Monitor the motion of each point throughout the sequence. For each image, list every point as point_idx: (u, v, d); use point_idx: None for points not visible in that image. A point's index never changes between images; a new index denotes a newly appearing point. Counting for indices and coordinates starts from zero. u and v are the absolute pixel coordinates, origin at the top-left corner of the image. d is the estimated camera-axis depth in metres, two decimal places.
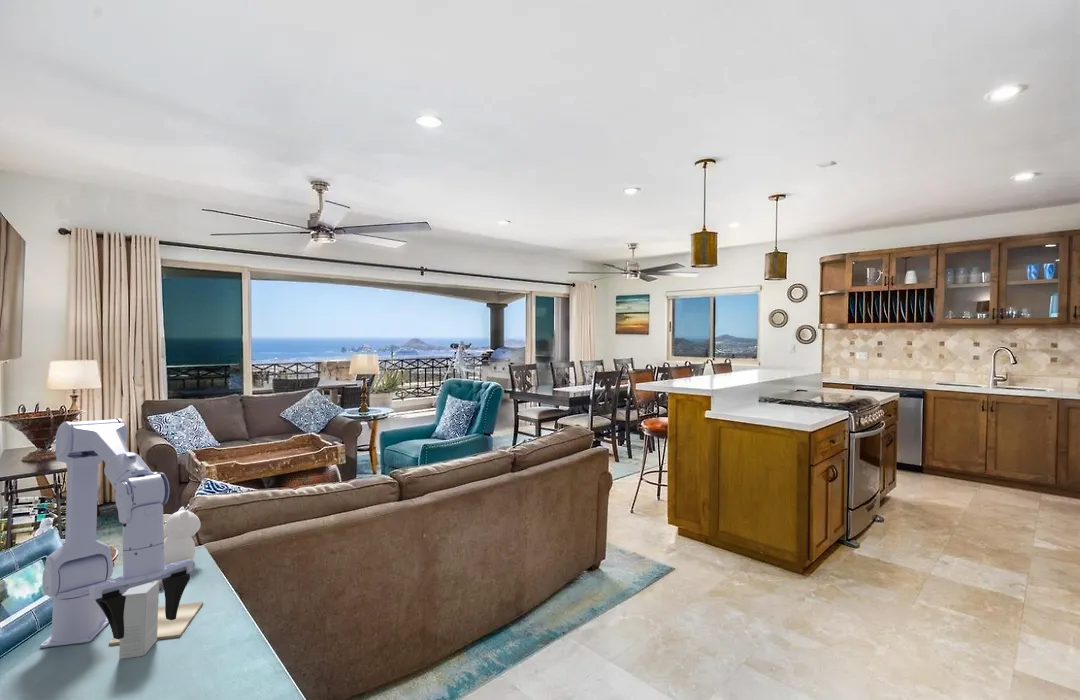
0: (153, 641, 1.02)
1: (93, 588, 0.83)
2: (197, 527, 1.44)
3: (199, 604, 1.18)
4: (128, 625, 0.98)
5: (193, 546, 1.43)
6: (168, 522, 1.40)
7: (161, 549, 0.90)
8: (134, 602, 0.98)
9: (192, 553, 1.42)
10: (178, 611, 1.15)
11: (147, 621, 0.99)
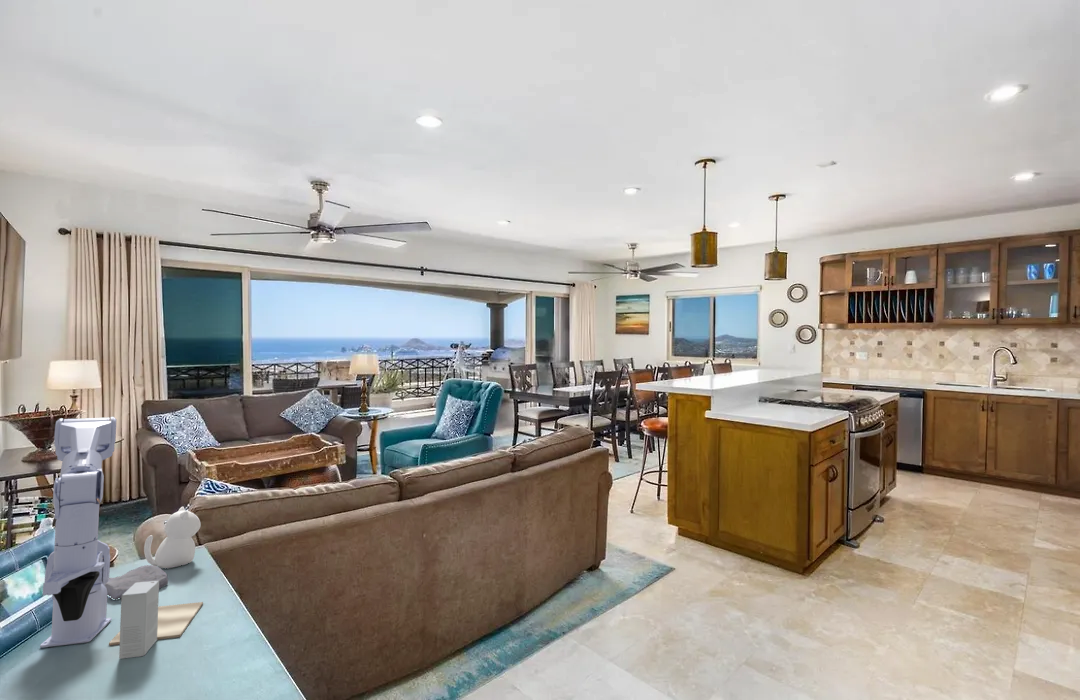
0: (153, 641, 1.02)
1: (55, 583, 0.85)
2: (197, 527, 1.44)
3: (199, 604, 1.18)
4: (128, 625, 0.98)
5: (193, 546, 1.43)
6: (168, 522, 1.40)
7: None
8: (134, 602, 0.98)
9: (192, 553, 1.42)
10: (178, 611, 1.15)
11: (147, 621, 0.99)
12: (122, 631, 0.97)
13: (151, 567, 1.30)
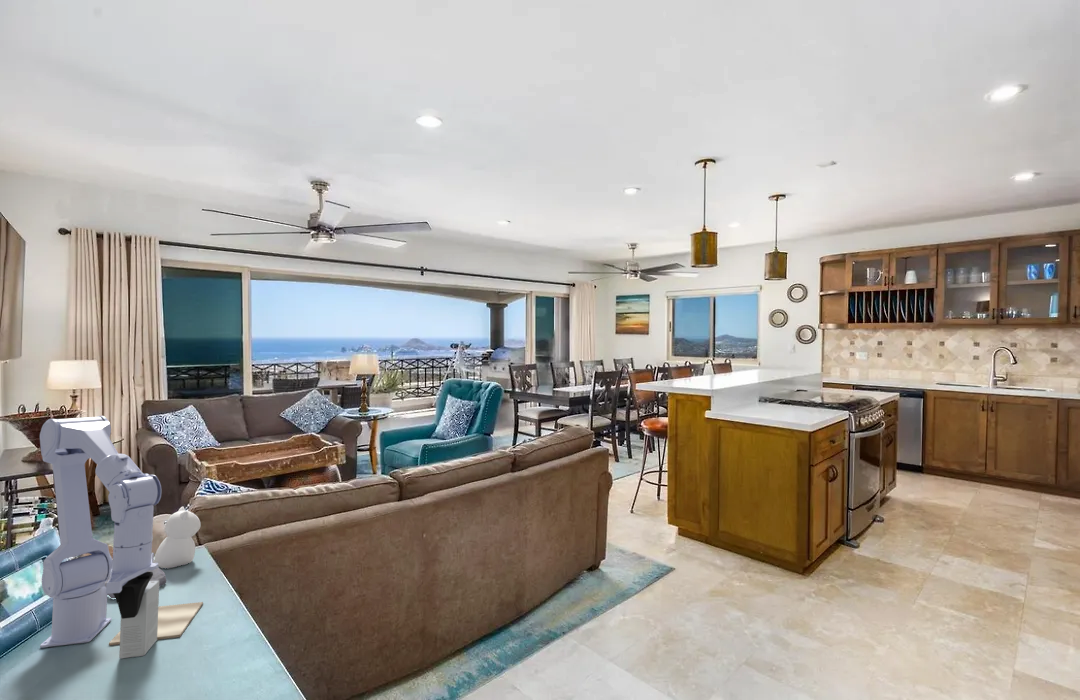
0: (153, 641, 1.02)
1: (117, 583, 0.90)
2: (197, 527, 1.44)
3: (199, 604, 1.18)
4: (128, 624, 0.98)
5: (193, 546, 1.43)
6: (168, 522, 1.40)
7: None
8: None
9: (192, 553, 1.42)
10: (178, 611, 1.15)
11: (147, 621, 0.99)
12: (122, 631, 0.97)
13: None
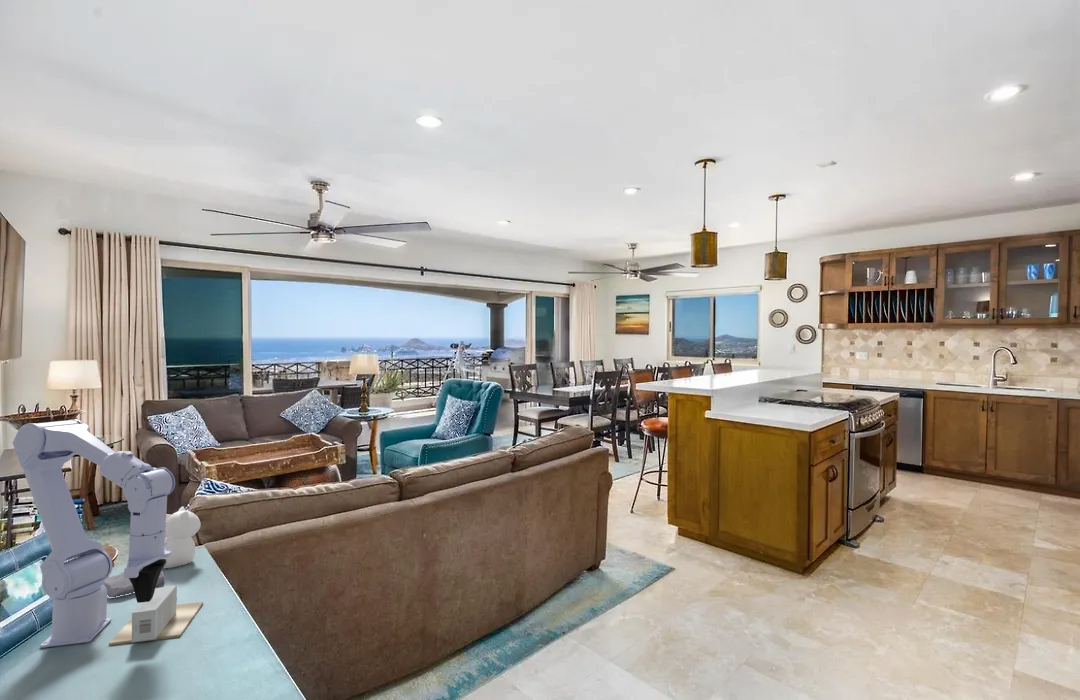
0: (157, 627, 1.04)
1: (134, 568, 0.96)
2: (197, 527, 1.44)
3: (199, 604, 1.18)
4: None
5: (193, 546, 1.43)
6: (168, 522, 1.40)
7: None
8: (164, 589, 1.12)
9: (192, 553, 1.42)
10: (178, 611, 1.15)
11: (167, 599, 1.09)
12: None
13: None
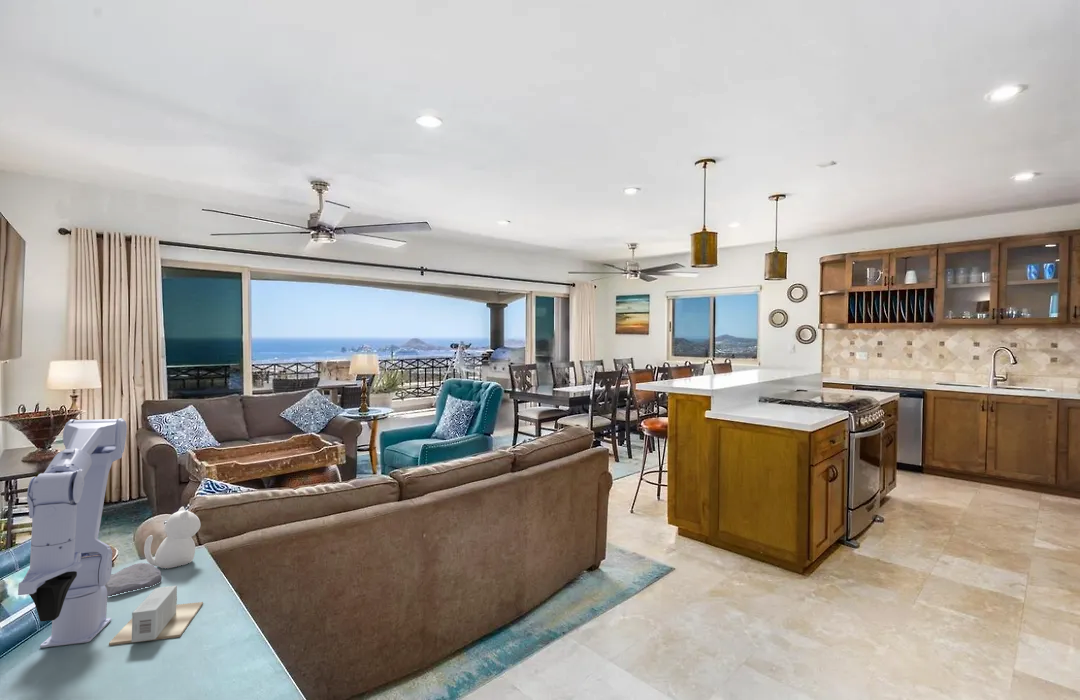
0: (157, 627, 1.04)
1: (30, 583, 0.84)
2: (197, 527, 1.44)
3: (199, 604, 1.18)
4: (152, 598, 1.08)
5: (193, 546, 1.43)
6: (168, 522, 1.40)
7: None
8: (164, 589, 1.12)
9: (192, 553, 1.42)
10: (178, 611, 1.15)
11: (167, 599, 1.09)
12: (145, 601, 1.07)
13: (145, 565, 1.31)
